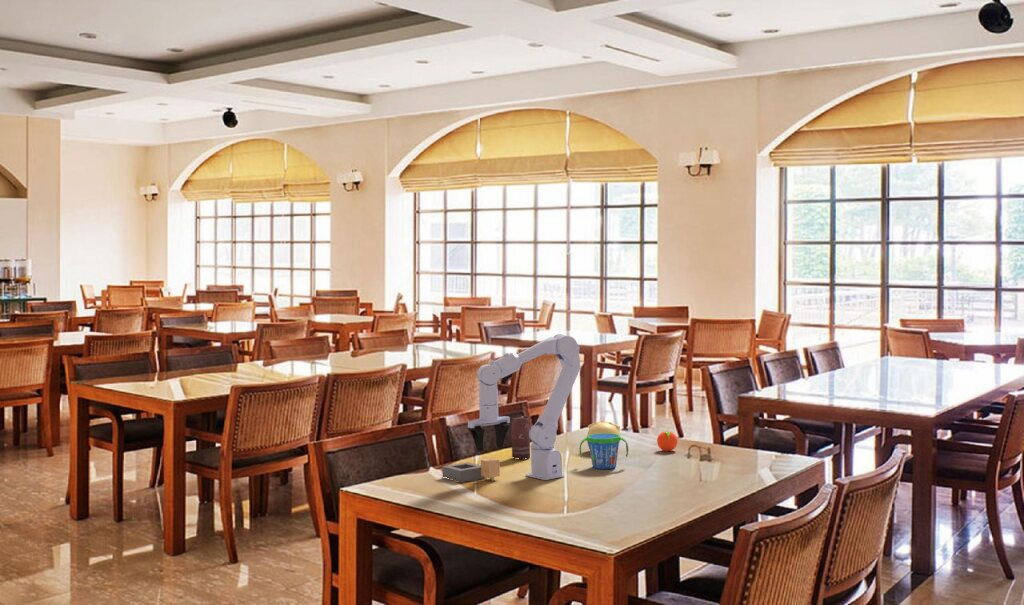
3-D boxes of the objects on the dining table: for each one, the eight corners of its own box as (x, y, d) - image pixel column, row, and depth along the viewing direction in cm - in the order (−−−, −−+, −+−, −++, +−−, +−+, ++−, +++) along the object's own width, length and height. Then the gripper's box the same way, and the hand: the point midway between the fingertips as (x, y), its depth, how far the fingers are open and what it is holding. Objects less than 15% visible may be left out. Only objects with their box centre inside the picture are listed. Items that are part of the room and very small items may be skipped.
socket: (486, 478, 303) (486, 466, 303) (460, 482, 297) (460, 470, 297) (467, 473, 310) (467, 462, 310) (442, 478, 304) (442, 466, 304)
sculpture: (622, 449, 348) (621, 418, 347) (618, 455, 336) (617, 423, 336) (590, 448, 350) (589, 418, 350) (584, 454, 339) (584, 423, 338)
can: (530, 456, 337) (530, 415, 337) (529, 460, 331) (528, 418, 330) (513, 456, 338) (512, 415, 337) (511, 460, 331) (510, 418, 331)
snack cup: (577, 470, 312) (577, 438, 312) (582, 463, 322) (581, 432, 322) (627, 471, 309) (626, 438, 309) (630, 464, 319) (629, 433, 319)
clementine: (679, 453, 337) (679, 432, 337) (659, 453, 337) (658, 432, 337) (675, 449, 345) (675, 428, 345) (656, 449, 345) (655, 429, 345)
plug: (499, 480, 299) (499, 459, 299) (489, 482, 297) (488, 461, 297) (491, 478, 303) (491, 458, 302) (481, 480, 300) (480, 459, 300)
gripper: (499, 401, 307) (500, 444, 307) (461, 405, 298) (462, 450, 298) (513, 403, 301) (514, 447, 302) (475, 407, 292) (476, 453, 293)
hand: (489, 449), depth 300 cm, fingers open, 7 cm apart
